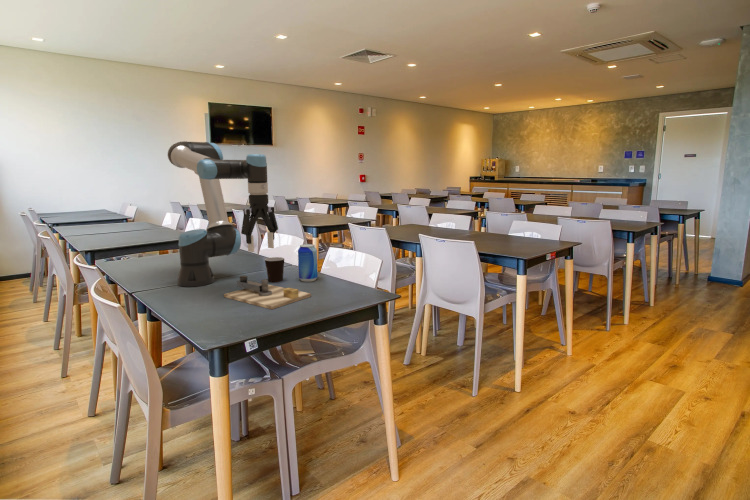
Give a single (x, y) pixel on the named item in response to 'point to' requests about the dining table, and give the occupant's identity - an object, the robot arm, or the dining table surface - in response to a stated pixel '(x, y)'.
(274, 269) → the coffee mug
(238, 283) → the swing bar
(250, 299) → the door board
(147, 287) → the dining table surface
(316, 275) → the beer can
